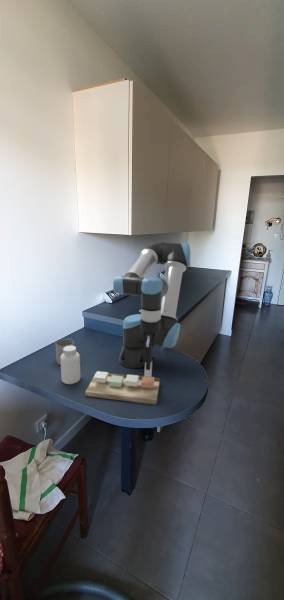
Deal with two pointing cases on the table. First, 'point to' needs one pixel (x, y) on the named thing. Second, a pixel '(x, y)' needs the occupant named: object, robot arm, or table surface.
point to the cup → (59, 348)
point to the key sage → (116, 381)
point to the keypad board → (124, 391)
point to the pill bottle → (70, 365)
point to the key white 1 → (100, 377)
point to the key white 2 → (132, 380)
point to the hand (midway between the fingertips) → (147, 375)
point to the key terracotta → (147, 382)
